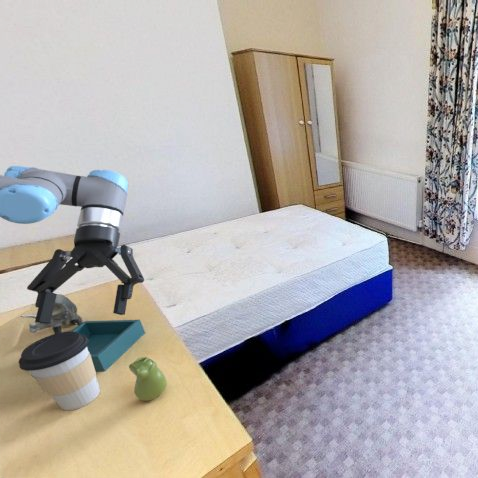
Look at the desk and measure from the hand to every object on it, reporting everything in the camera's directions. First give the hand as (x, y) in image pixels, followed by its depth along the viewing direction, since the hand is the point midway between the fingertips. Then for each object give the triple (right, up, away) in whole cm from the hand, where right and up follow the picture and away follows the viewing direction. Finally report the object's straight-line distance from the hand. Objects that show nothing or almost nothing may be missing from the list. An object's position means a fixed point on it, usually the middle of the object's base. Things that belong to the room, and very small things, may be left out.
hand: (81, 318), depth 70 cm
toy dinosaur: (-24, -7, +19) cm, 32 cm away
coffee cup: (+2, -17, -1) cm, 17 cm away
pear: (+16, -17, 0) cm, 24 cm away
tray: (-8, -11, +11) cm, 17 cm away
